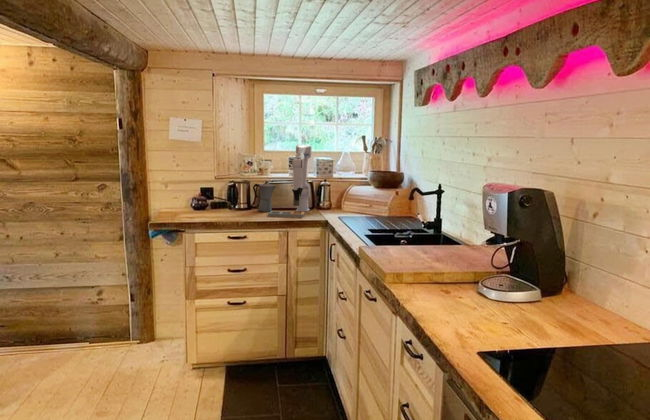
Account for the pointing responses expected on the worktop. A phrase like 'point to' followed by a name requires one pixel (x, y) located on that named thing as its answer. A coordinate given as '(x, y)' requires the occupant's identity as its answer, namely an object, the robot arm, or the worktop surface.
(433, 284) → the worktop surface
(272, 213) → the grey rectangular frame
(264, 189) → the moka pot
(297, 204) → the block
